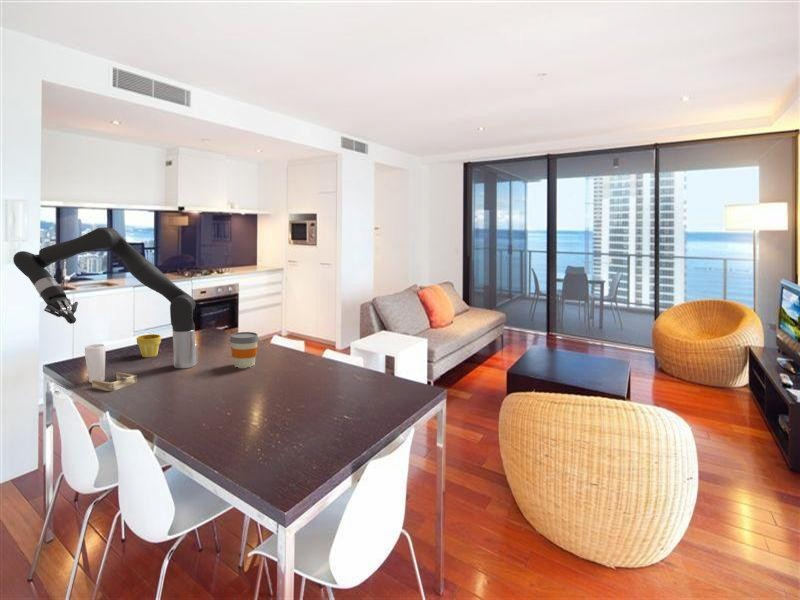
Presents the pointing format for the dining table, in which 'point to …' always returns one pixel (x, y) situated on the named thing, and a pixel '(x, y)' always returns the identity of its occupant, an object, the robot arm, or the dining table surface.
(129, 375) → the oak dock
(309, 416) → the dining table surface
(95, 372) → the drinking glass
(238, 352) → the reusable coffee cup
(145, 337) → the plant pot
